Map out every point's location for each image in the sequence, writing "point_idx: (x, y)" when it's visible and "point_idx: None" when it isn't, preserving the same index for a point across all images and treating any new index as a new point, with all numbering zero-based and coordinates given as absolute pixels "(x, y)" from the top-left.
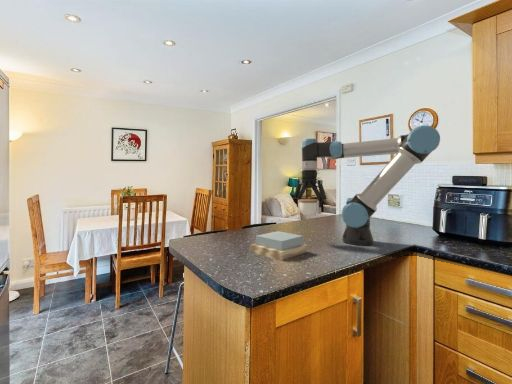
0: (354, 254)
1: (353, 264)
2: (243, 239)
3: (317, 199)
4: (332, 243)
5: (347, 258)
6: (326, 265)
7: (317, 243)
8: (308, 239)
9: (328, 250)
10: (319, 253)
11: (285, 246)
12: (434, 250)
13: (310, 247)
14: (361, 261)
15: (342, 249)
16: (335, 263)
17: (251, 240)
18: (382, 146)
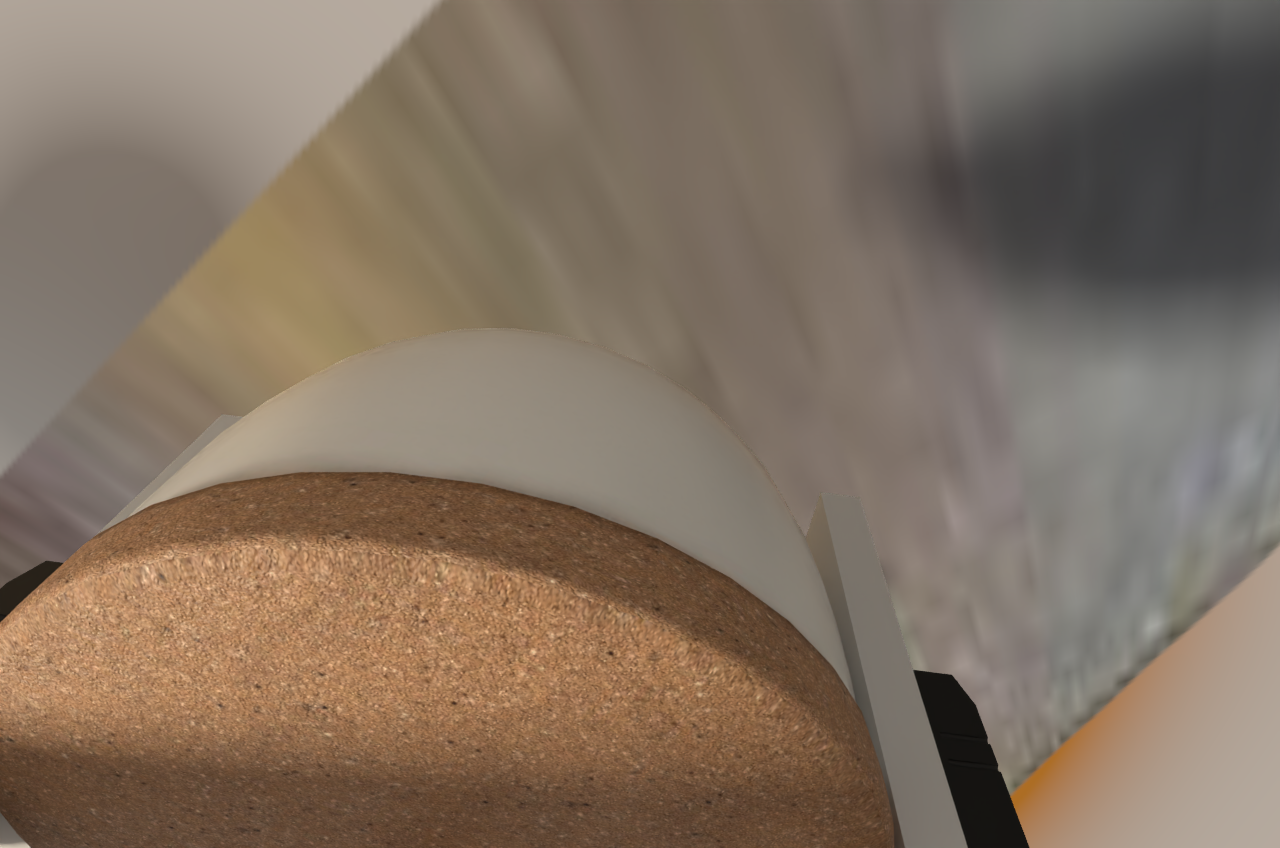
0: (1215, 402)
1: (1181, 634)
2: (10, 514)
3: (753, 832)
4: (901, 48)
5: (1136, 541)
6: (991, 717)
7: (709, 195)
8: (481, 31)
9: (927, 413)
10: (872, 537)
11: None
12: None
13: (718, 413)
14: (1258, 554)
15: (1078, 289)
16: (1045, 669)
17: (93, 503)
18: None
